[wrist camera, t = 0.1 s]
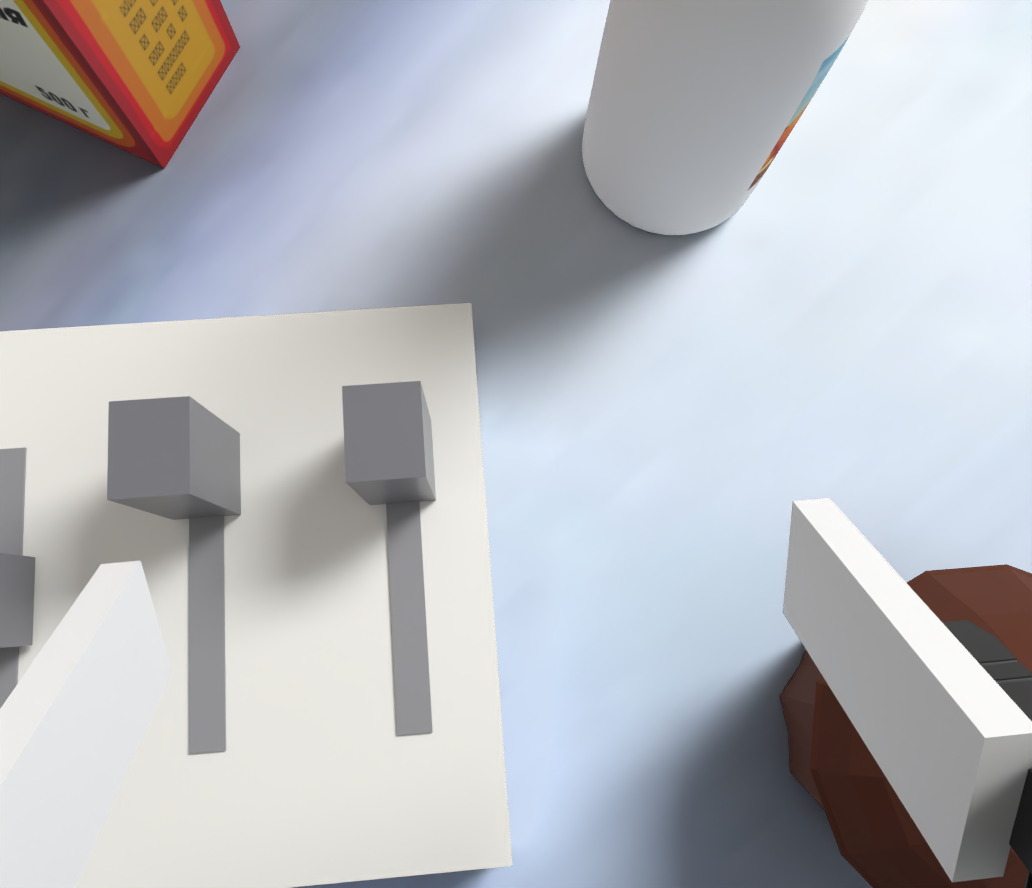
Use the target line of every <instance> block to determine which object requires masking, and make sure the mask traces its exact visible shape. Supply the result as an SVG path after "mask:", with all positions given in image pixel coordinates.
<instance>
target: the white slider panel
mask: <svg viewBox="0 0 1032 888" xmlns="http://www.w3.org/2000/svg"><path fill="white" fill-rule="evenodd" d="M0 553H6V554H14V555H22V556H30V557H35V586H34V615H33V644H32V645H31V646H19V647H6V648H0V708H1V707H2V706H3V704H4V703H5V701H6V700H7V698H8V697H9V696H10V694H11V693H12V691H13V690H14V688H15V687H16V685H17V684H18V683H19V681H20V680H21V678H22V677H23V675H24V674H25V673H26V671H27V670H28V668H29V667H30V665H31V664H32V663H33V661H34V660H35V658H36V657H37V655H38V654H39V652H40V651H41V650H42V648H43V647H44V645H45V644H46V642H47V641H48V640H49V638H50V637H51V635H52V634H53V632H54V631H55V629H56V628H57V627H58V625H59V624H60V622H61V621H62V619H63V618H64V617H65V615H66V614H67V612H68V611H69V609H70V608H71V607H72V605H73V604H74V602H75V601H76V599H77V598H78V596H79V595H80V594H81V592H82V591H83V589H84V588H85V586H86V585H87V584H88V582H89V581H90V579H91V578H92V576H93V575H94V574H95V572H96V571H97V569H98V568H99V566H100V565H101V564H108V563H119V562H130V561H141V564H142V567H143V571H144V574H145V577H146V581H147V584H148V588H149V591H150V595H151V598H152V602H153V605H154V609H155V612H156V616H157V619H158V623H159V626H160V630H161V633H162V637H163V640H164V643H165V647H166V650H167V654H168V657H169V661H170V664H171V668H172V671H173V672H172V675H171V677H170V679H169V681H168V683H167V686H166V688H165V690H164V692H163V694H162V697H161V699H160V701H159V703H158V705H157V708H156V710H155V712H154V714H153V717H152V719H151V721H150V723H149V725H148V728H147V730H146V732H145V734H144V736H143V739H142V741H141V743H140V745H139V748H138V750H137V752H136V754H135V756H134V759H133V761H132V763H131V765H130V767H129V770H128V772H127V774H126V776H125V778H124V781H123V783H122V785H121V787H120V790H119V792H118V794H117V796H116V798H115V801H114V803H113V805H112V807H111V809H110V812H109V814H108V816H107V818H106V821H105V823H104V825H103V827H102V829H101V832H100V834H99V836H98V838H97V840H96V843H95V845H94V847H93V849H92V851H91V854H90V856H89V858H88V860H87V863H86V865H85V867H84V869H83V871H82V874H81V876H80V878H79V880H78V882H77V885H76V887H75V888H291V887H301V886H312V885H322V884H332V883H342V882H353V881H363V880H373V879H383V878H394V877H404V876H414V875H425V874H435V873H445V872H455V871H466V870H476V869H486V868H496V867H507V866H512V854H511V840H510V826H509V813H508V799H507V785H506V771H505V758H504V744H503V730H502V717H501V703H500V689H499V675H498V662H497V648H496V634H495V621H494V607H493V593H492V579H491V566H490V552H489V538H488V524H487V511H486V497H485V483H484V470H483V456H482V442H481V428H480V415H479V401H478V387H477V373H476V360H475V346H474V332H473V319H472V305H471V303H458V304H442V305H425V306H409V307H393V308H376V309H360V310H344V311H328V312H311V313H295V314H279V315H263V316H246V317H230V318H214V319H198V320H181V321H165V322H149V323H133V324H116V325H100V326H84V327H68V328H51V329H35V330H19V331H2V332H0Z"/></svg>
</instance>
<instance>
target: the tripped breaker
mask: <svg viewBox="0 0 1032 888" xmlns="http://www.w3.org/2000/svg"><path fill="white" fill-rule="evenodd" d="M34 586H35V557H30V556H22V555H14V554H6V553H0V648H6V647H19V646H31V645H32V644H33V615H34Z"/></svg>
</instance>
